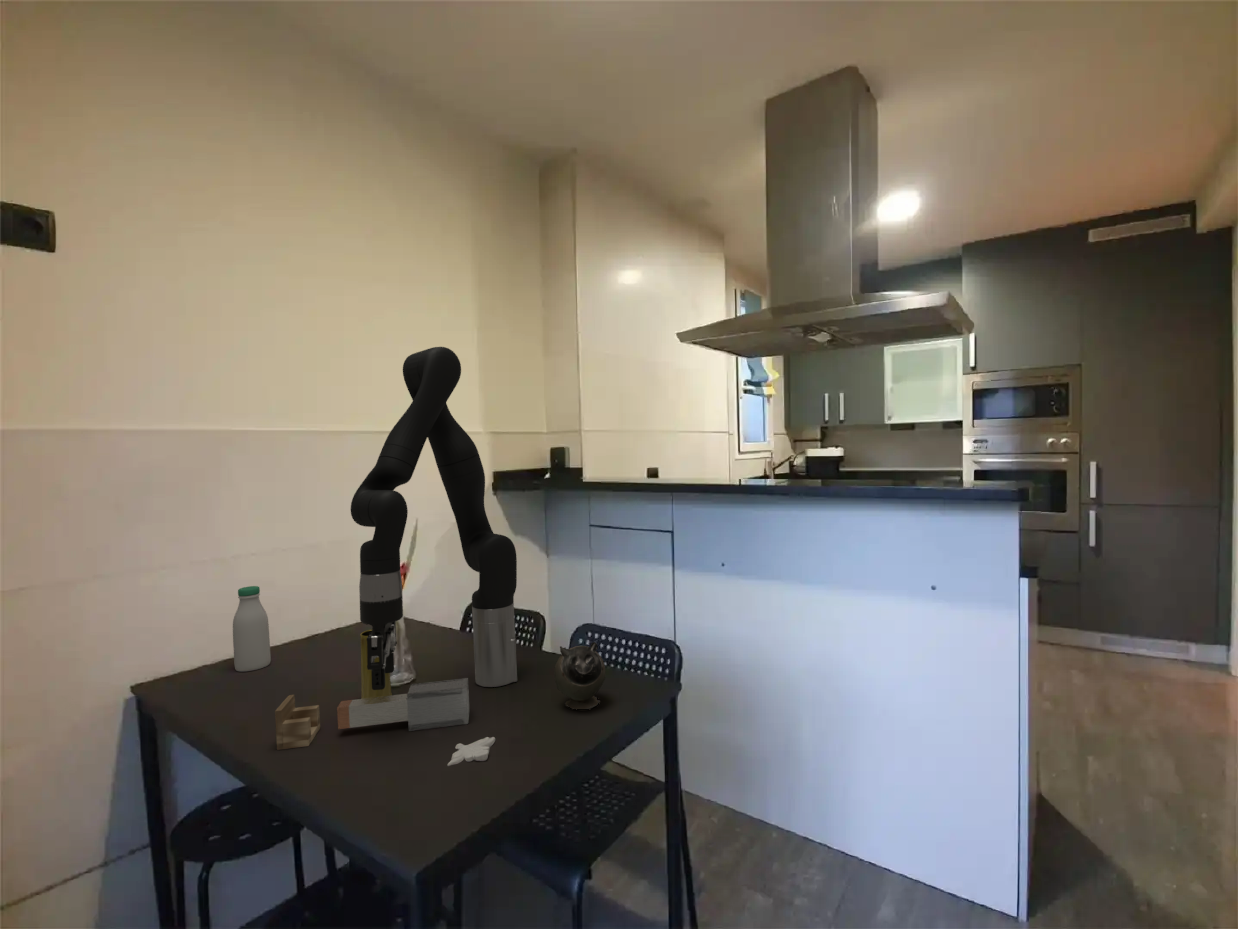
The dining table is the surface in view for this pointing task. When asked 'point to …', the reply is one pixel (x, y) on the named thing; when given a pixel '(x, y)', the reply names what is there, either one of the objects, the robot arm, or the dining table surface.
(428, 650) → the dining table surface
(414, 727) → the sleeve
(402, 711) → the white orange-tipped bar
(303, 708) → the socket
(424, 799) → the dining table surface
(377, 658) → the vase
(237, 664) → the milk bottle
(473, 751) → the acanthus leaf ornament
